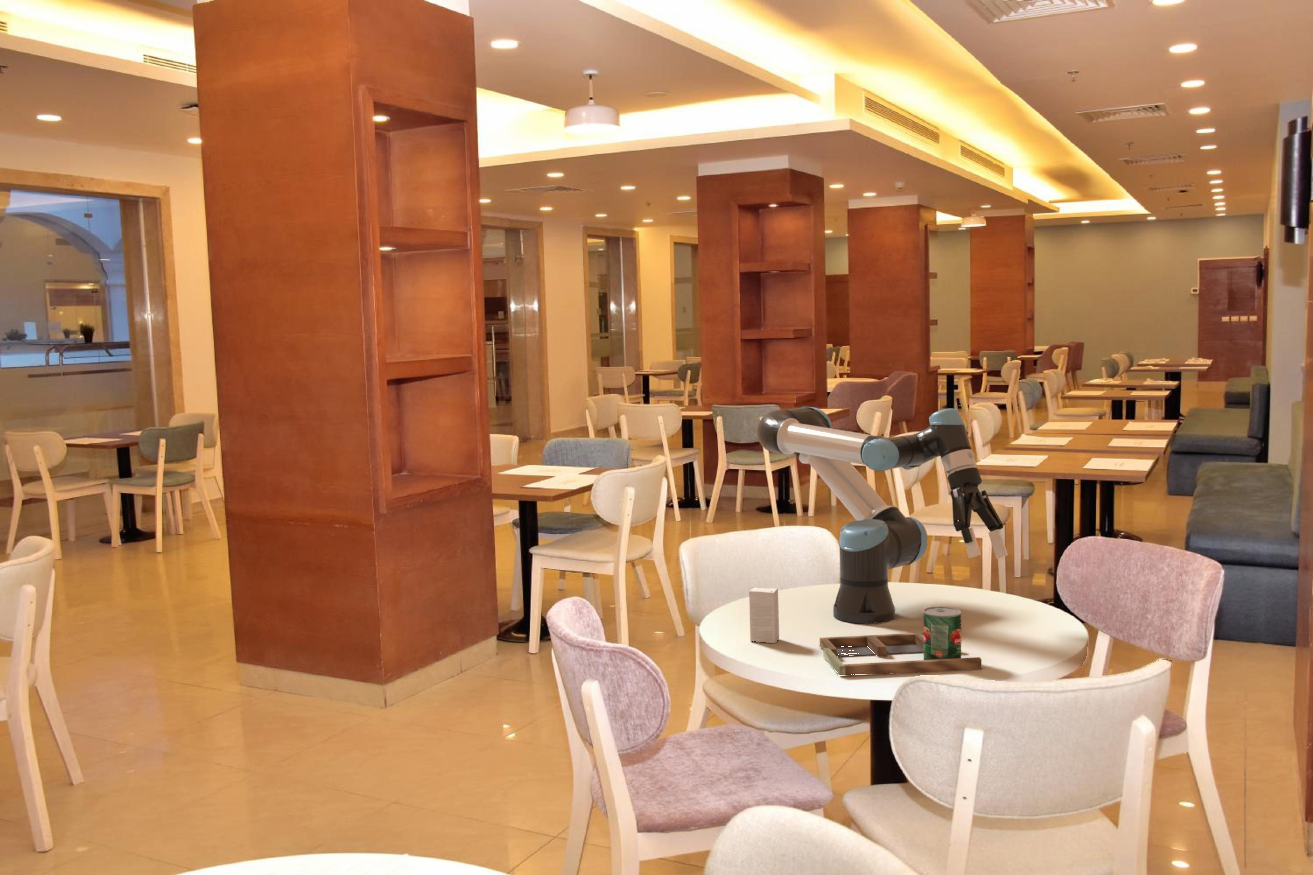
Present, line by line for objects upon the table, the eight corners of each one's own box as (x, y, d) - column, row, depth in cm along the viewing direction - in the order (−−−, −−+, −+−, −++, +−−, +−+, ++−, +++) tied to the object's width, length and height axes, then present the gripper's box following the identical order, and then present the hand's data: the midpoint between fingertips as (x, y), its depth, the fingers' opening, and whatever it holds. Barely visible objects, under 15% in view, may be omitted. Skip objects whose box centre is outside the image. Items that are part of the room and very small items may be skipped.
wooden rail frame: (944, 640, 254) (944, 631, 254) (981, 669, 233) (981, 658, 233) (814, 647, 251) (814, 637, 251) (839, 676, 230) (839, 666, 230)
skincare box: (779, 638, 259) (778, 588, 258) (775, 643, 255) (774, 592, 254) (754, 637, 261) (753, 586, 260) (749, 642, 257) (748, 591, 256)
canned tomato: (966, 666, 235) (966, 614, 234) (930, 667, 235) (930, 616, 234) (953, 655, 243) (953, 605, 242) (918, 656, 243) (918, 607, 241)
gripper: (950, 462, 256) (977, 551, 249) (999, 469, 274) (1026, 552, 267) (922, 473, 260) (948, 561, 254) (973, 479, 279) (999, 561, 272)
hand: (989, 556), depth 261 cm, fingers open, 13 cm apart
